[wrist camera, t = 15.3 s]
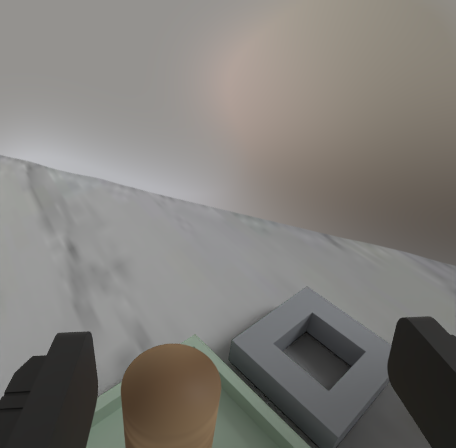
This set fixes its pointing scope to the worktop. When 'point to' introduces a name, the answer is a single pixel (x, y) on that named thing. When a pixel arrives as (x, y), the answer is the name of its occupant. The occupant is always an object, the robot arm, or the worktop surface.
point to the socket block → (299, 379)
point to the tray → (225, 423)
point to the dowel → (170, 398)
